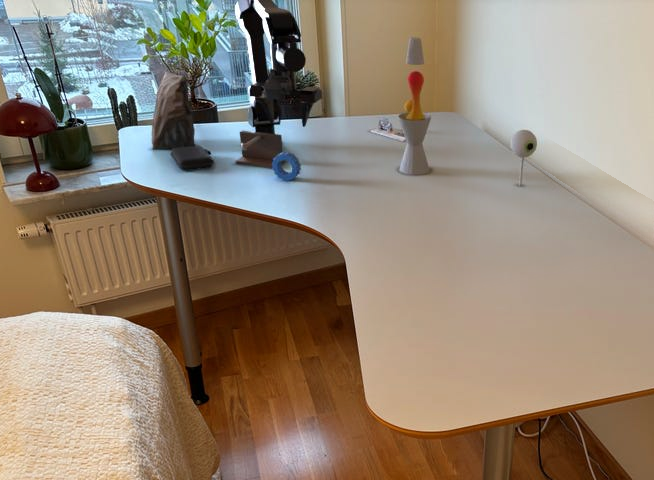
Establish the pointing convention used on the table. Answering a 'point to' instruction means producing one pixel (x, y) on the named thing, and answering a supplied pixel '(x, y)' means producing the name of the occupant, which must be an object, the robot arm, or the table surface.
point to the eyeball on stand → (523, 146)
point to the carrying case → (192, 158)
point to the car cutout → (388, 130)
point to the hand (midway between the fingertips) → (288, 124)
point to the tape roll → (293, 162)
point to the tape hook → (259, 148)
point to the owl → (172, 115)
